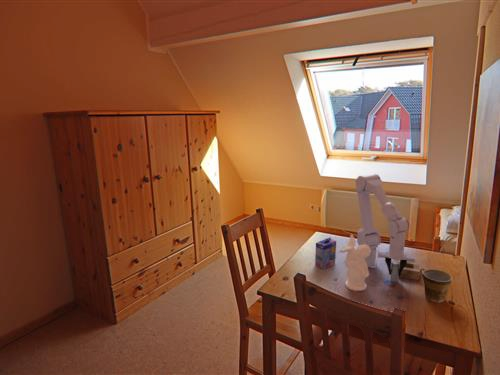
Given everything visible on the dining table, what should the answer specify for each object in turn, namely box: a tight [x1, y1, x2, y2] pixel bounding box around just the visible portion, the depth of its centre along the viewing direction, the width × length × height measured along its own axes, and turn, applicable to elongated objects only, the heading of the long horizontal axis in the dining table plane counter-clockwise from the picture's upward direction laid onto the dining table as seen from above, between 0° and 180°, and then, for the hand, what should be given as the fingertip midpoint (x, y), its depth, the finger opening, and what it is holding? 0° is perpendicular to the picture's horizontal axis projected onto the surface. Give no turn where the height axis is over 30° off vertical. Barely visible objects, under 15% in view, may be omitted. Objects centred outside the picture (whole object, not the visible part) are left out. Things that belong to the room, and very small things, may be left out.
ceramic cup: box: [420, 268, 453, 304], centre depth 127 cm, size 13×10×10 cm
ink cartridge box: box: [314, 237, 337, 270], centre depth 155 cm, size 10×6×14 cm, turn 129°
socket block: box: [396, 260, 421, 281], centre depth 145 cm, size 9×9×4 cm
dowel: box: [389, 261, 400, 283], centre depth 139 cm, size 3×3×8 cm
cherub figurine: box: [339, 233, 371, 292], centre depth 134 cm, size 12×12×22 cm
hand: (394, 274), depth 139 cm, fingers closed on dowel, 3 cm apart
